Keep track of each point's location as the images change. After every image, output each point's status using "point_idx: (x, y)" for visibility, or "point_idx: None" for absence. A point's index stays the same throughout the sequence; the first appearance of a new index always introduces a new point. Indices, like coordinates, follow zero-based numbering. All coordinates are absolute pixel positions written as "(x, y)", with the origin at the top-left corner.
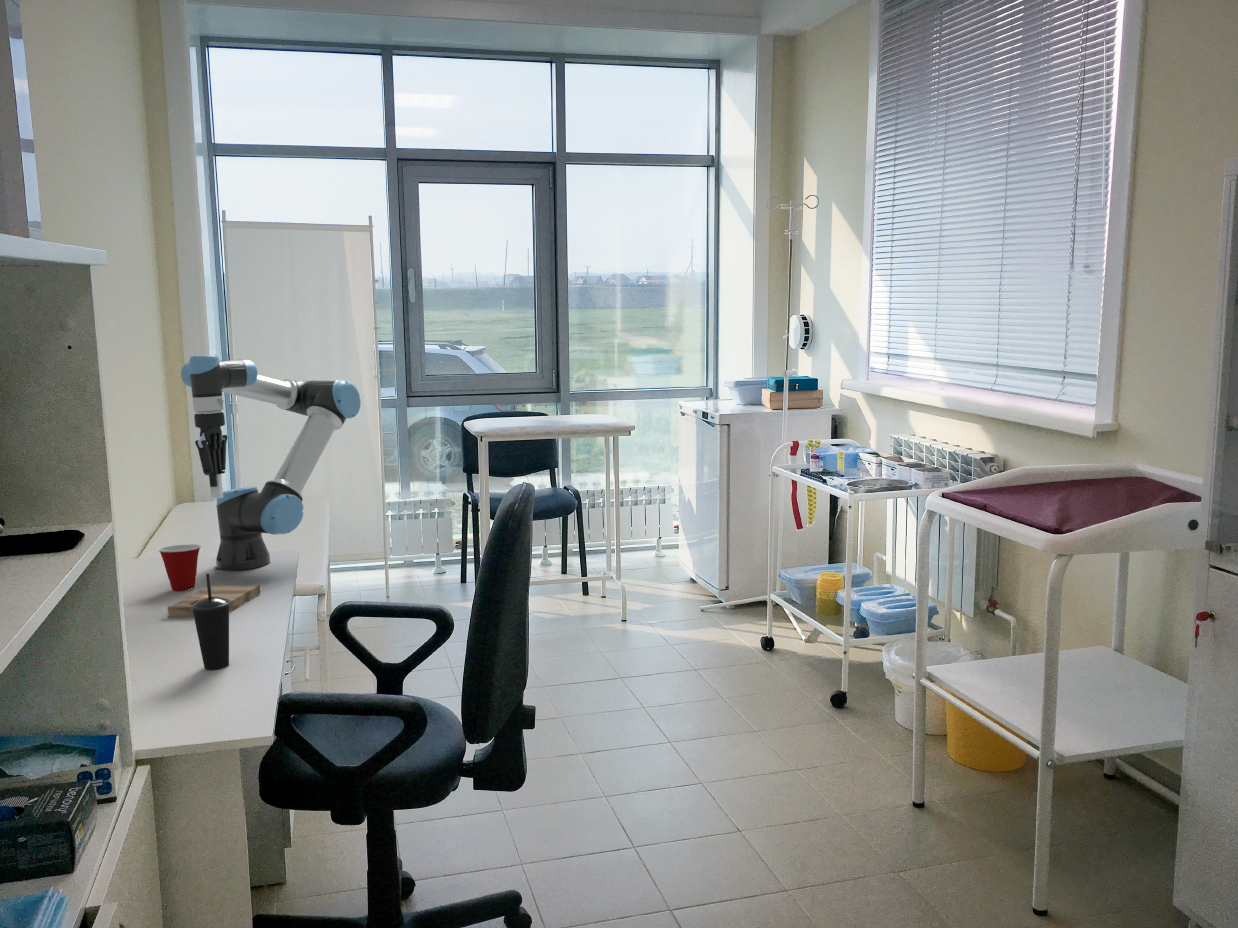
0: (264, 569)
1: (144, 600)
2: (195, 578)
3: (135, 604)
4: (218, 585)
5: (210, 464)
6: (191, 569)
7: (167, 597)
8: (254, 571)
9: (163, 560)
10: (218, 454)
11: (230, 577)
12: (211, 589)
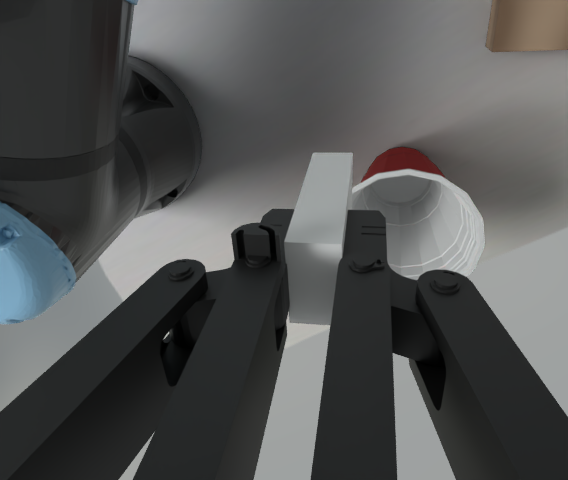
0: (167, 26)
1: (519, 221)
2: (390, 153)
3: (561, 225)
4: (500, 13)
5: (511, 355)
6: (423, 161)
7: (497, 173)
8: (195, 50)
9: (445, 255)
10: (231, 426)
11: (272, 95)
12: (560, 8)
